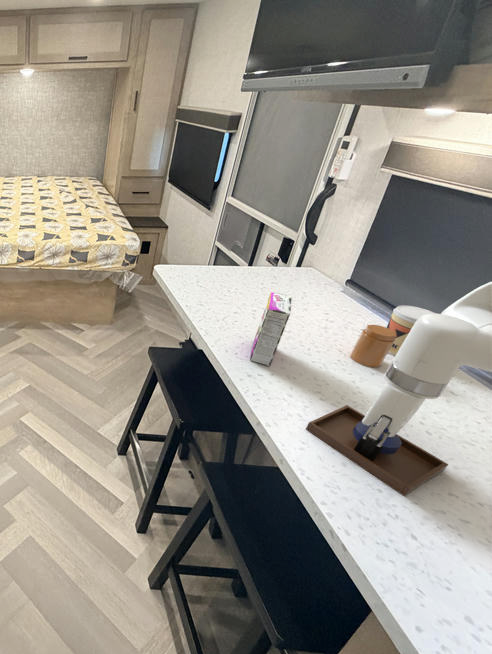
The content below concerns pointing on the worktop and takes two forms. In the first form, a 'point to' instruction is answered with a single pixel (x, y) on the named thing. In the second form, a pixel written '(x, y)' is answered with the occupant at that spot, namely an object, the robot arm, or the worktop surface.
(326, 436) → the walnut tray
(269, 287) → the worktop surface
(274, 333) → the candy bar box
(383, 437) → the robot arm
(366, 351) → the jam jar
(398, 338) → the coffee cup
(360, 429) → the jar lid
